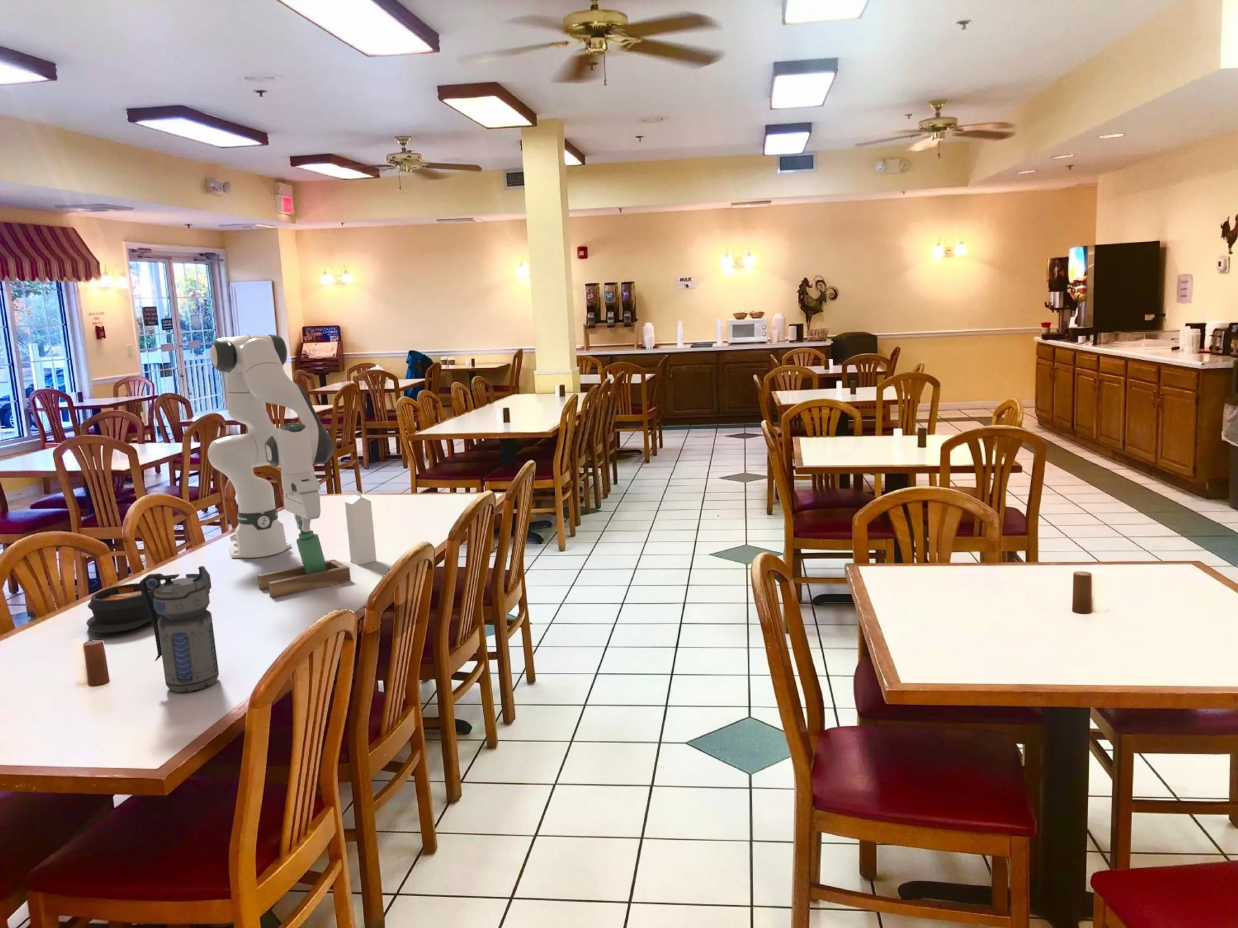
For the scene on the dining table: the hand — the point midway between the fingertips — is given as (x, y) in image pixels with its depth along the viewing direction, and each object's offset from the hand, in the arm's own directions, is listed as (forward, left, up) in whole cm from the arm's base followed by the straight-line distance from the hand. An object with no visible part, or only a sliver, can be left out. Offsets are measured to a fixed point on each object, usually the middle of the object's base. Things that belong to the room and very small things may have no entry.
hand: (303, 530), depth 262 cm
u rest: (0, -1, -16) cm, 16 cm away
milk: (-12, +21, -16) cm, 29 cm away
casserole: (0, -46, -16) cm, 49 cm away
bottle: (0, +3, -15) cm, 15 cm away
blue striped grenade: (+56, -44, -16) cm, 73 cm away
